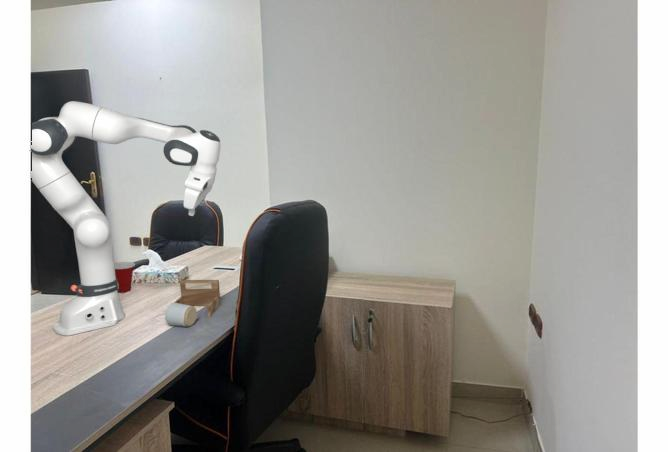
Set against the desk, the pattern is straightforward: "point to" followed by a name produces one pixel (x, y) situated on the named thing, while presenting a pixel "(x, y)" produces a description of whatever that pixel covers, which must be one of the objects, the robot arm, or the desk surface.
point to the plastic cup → (124, 275)
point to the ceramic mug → (180, 315)
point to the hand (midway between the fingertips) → (196, 209)
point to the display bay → (200, 294)
